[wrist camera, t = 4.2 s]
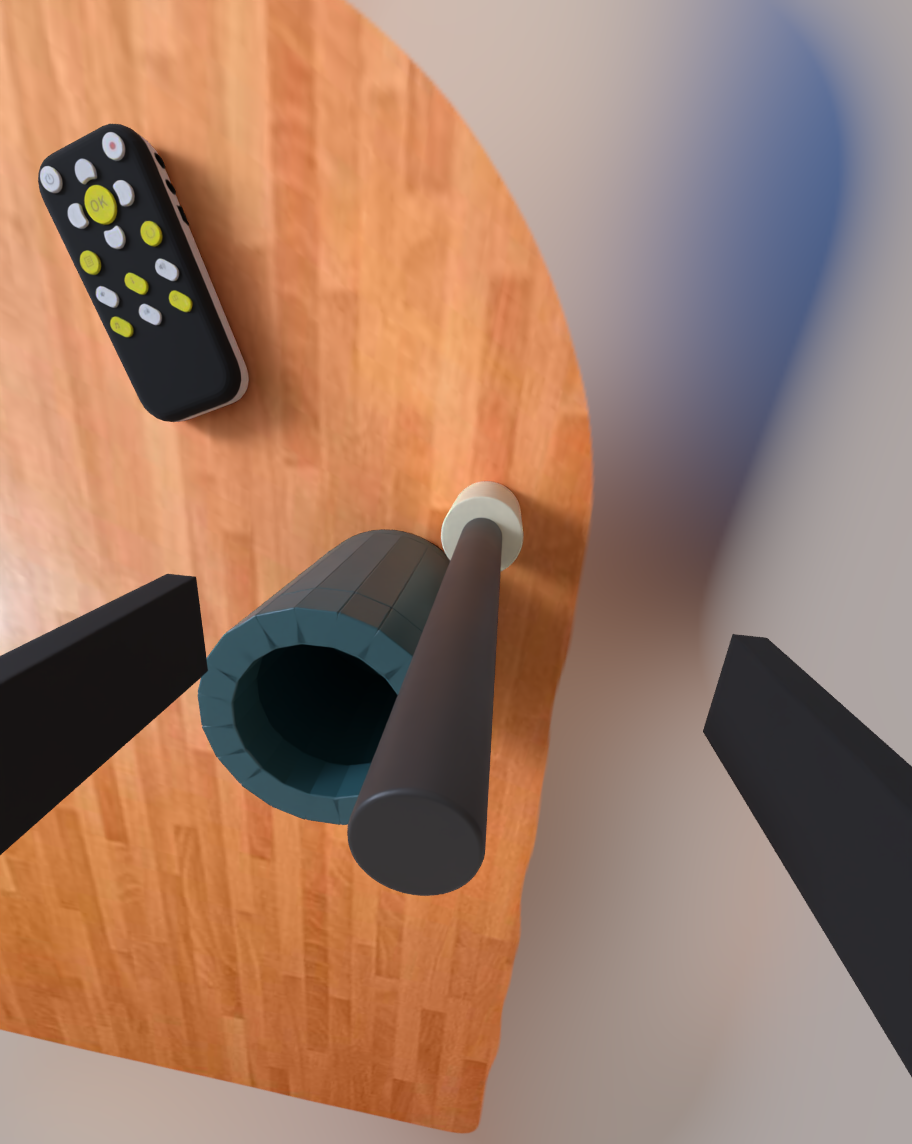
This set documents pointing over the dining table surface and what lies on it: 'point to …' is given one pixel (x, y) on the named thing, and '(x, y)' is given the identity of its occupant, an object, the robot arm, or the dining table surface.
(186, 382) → the remote control
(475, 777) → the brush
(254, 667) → the jar
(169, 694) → the robot arm
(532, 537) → the dining table surface
